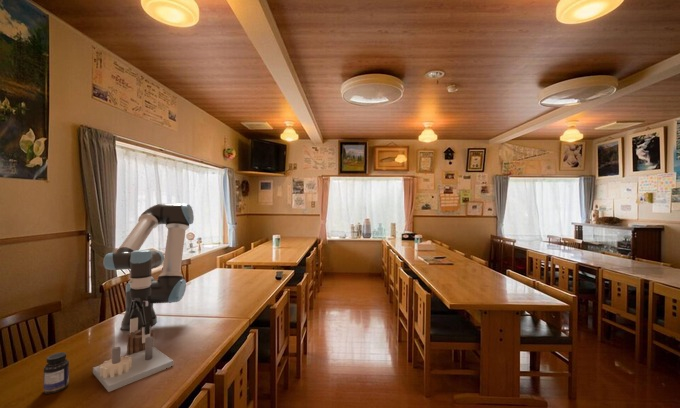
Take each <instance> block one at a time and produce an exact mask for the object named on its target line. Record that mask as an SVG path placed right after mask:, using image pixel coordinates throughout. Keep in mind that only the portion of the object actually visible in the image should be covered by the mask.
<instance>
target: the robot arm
mask: <svg viewBox="0 0 680 408" xmlns="http://www.w3.org/2000/svg"><path fill="white" fill-rule="evenodd" d="M194 217H195V216H194V210H193V207H192V206H191V204H189V203H158V204H155V205H152V206H150V207H149V208H147V209H146V210H144V211H143V212H142V213H141V214H140V216H138V220H137V223H136V224H135V226H134V227H133V228H132V229H131V231H130V233H129V234H128V235H127V237H126V238H125V239H124V241H123V242H122V243H121V245H120V246H119V247H118V249H116V251H115V252H113V251H112V252H109V253H106V254H105V255H104V257H103V262H102V263H103V265H102V266H103V267H104V269H106V270H110V271H111V270H112V271H119V270H121V271H122V270H130V272H129V274H130V275H129V279H130V280H129V281H128V283H126V286H125V311H124V312H125V313H124V315H123V318H122V320H121V324H120V328H121V329H122V330H124V331H129V334H130V333H131V332H135V331H137V330H138V331H139V330H142V343H145V338H147V337H150V330H151V327H152V326H153V325H155V324H156V323H157V321H158V317H157V314H156V312H155V309H154V304H172V303H178V302H180V301H181V300H182V299H183V297H184V295H185V294H186V293H185V292H186V289H187V281H186V279H184V275H183V274H182V273H181V271H182V262H183V254H184V246H185V237H186V231H187V230H188V229H189V228H190V225H192V224H193V223H194ZM158 225H165V228H166V229H167V236H166V243H165V250H164V254H163V252H162V251H160V250H159V251H158V250H151V249H141V247H143V245H144V243H145V241H146V240H147V238H149V235H150V234H151V232H152V231H153V229H155V228H157V227H158ZM162 264H163V265H162ZM161 265H162V271H161V273H160V274H159V275H158V276H157V279H155V280H154V277H153V276H152V270H153V269H156V268H159V266H161Z"/></svg>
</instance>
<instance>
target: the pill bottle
mask: <svg viewBox="0 0 680 408" xmlns="http://www.w3.org/2000/svg"><path fill="white" fill-rule="evenodd" d="M46 363H47V364H45V365H44V367H43V393H44V394H47V395H50V394H56V393H59V392H61V391H63V390H64V389H66V388H67V387H68V386H69V384H70V361H69V359H67V352H63V351H62V352H57V353H53V354H51V355H48V356H47V357H46Z"/></svg>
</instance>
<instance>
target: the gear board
mask: <svg viewBox="0 0 680 408" xmlns="http://www.w3.org/2000/svg"><path fill="white" fill-rule="evenodd" d="M121 348H122V347H121V346H115V347H112V349H111V358H110V359H109V360H107V359H106V360H105V361H103V363H101V364H99V365H97V366H93V367H92V374H93V376H95V378H96V379H97V380H98V381H99V383H101V385H102V387H104V389H106V391H107V392H108V393H110V392H112V391H114V390H115V391H116V390H117V389H120V388H122V387H125V386H127V385H129V384H132V383H134V382H137V381H140V380H141V379H144V378H147V377H149V376H153V375H154V374H156V373H159V372H162V371H164V370H167V369H169V368H172V367H174V360H173V359H172V358H171V357H168V356H167V355H166V354H165V353H163V352H162V351H160V350H159V349H158V348H157V347H155V346H154V336H153V337H147V338H145V350H143V351H140V352H137V353H134V354H131V355H130V354H129V355H128V354H127V355H124V356H122V355H121V354H122V353H121ZM171 366H172V367H171ZM166 368H167V369H166Z"/></svg>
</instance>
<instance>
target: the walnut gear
mask: <svg viewBox="0 0 680 408" xmlns="http://www.w3.org/2000/svg"><path fill="white" fill-rule="evenodd" d="M126 335H127V336H126V354H127V356H128V355H131V354H134V353H137V352H140V351H143V350H145V343H142V329H138V330H137V331H135V332H131V333H130V332H129V334H126ZM150 337H153V338H154V331H153V329H150Z"/></svg>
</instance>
